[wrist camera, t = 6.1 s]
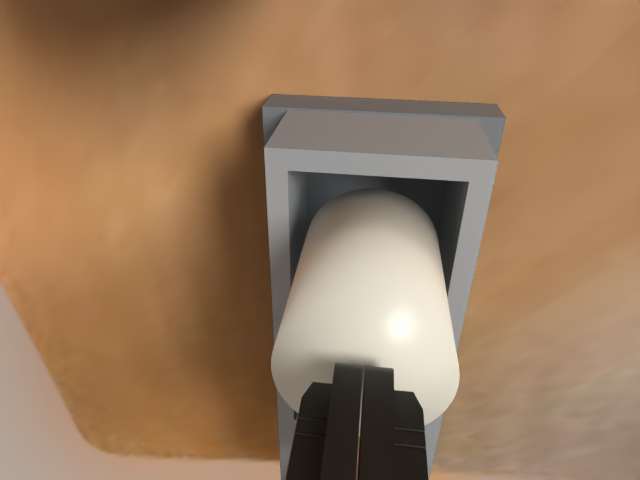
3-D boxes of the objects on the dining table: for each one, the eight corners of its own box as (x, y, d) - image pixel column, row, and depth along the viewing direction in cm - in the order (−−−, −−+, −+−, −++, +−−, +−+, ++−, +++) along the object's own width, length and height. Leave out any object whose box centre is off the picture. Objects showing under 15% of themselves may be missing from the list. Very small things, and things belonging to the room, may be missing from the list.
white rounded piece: (447, 192, 17) (475, 312, 11) (428, 305, 19) (444, 446, 14) (305, 183, 17) (266, 294, 12) (306, 294, 20) (274, 427, 14)
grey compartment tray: (496, 104, 21) (534, 160, 16) (430, 430, 32) (438, 528, 27) (271, 94, 22) (232, 143, 17) (284, 413, 33) (263, 505, 28)
